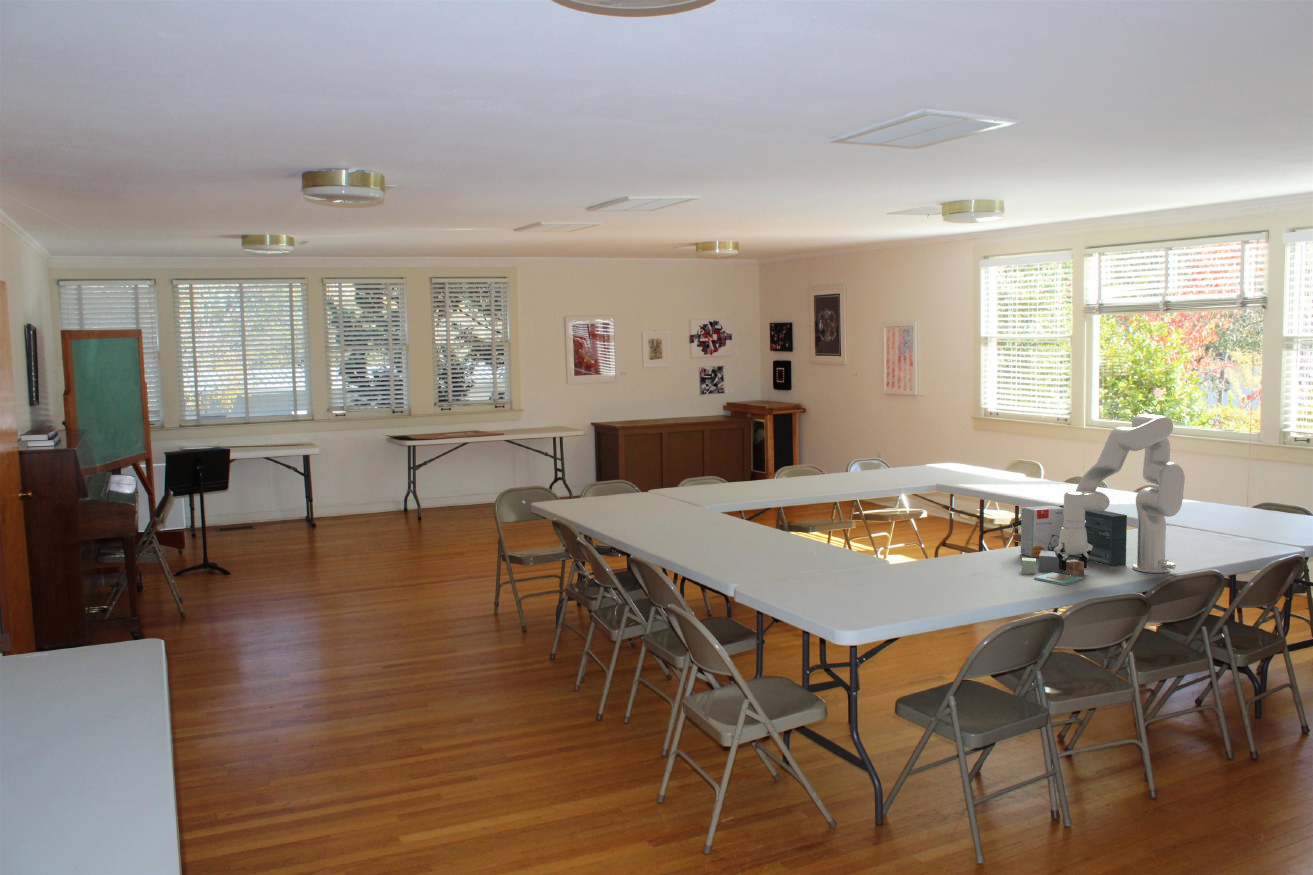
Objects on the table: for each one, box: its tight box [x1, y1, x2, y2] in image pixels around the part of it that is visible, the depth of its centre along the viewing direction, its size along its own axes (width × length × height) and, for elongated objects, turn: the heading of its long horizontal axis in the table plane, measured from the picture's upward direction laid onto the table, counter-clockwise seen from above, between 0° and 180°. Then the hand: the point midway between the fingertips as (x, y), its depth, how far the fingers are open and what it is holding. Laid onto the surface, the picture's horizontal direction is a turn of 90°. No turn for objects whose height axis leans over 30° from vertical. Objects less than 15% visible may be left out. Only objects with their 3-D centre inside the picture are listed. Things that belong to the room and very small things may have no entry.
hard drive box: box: [1020, 505, 1064, 558], centre depth 385 cm, size 16×8×20 cm, turn 105°
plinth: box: [1038, 551, 1069, 573], centre depth 361 cm, size 10×10×6 cm
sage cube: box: [1021, 557, 1037, 575], centre depth 357 cm, size 5×5×5 cm
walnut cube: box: [1062, 559, 1085, 577], centre depth 352 cm, size 5×5×5 cm
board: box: [1033, 571, 1083, 586], centre depth 344 cm, size 12×12×1 cm
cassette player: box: [1058, 504, 1128, 567], centre depth 376 cm, size 29×7×20 cm, turn 17°
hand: (1072, 568), depth 352 cm, fingers open, 9 cm apart
